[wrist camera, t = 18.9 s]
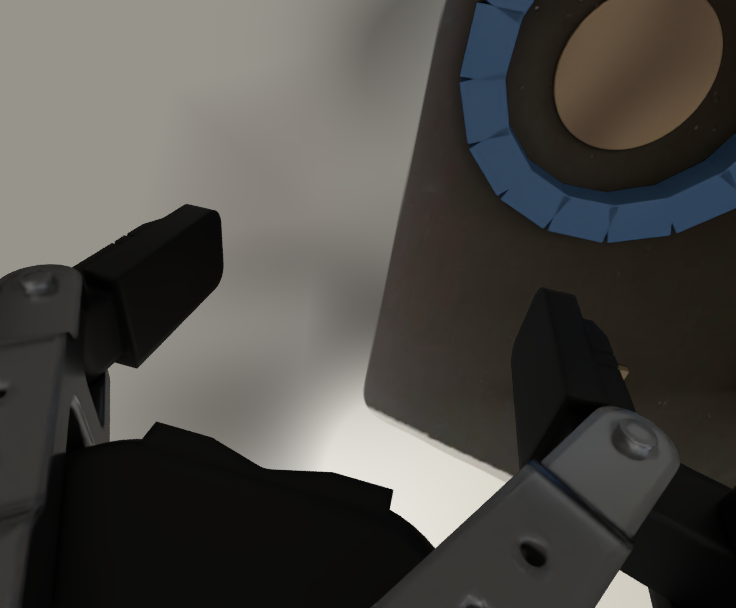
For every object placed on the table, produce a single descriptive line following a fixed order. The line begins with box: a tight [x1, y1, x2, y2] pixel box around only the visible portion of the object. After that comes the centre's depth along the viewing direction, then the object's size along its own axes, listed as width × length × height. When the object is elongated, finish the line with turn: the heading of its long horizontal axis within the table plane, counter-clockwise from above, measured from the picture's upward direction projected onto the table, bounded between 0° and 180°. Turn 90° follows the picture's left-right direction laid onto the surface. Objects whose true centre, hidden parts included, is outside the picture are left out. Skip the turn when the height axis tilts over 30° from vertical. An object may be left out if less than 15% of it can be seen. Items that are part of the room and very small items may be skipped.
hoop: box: [459, 0, 736, 243], centre depth 29 cm, size 23×23×3 cm
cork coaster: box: [553, 0, 723, 150], centre depth 30 cm, size 10×10×1 cm
